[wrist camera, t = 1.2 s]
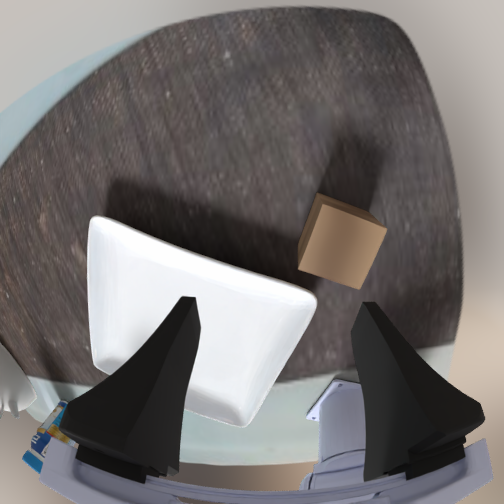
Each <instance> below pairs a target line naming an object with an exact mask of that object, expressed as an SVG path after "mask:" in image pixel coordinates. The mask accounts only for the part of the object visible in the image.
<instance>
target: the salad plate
mask: <svg viewBox="0 0 504 504" xmlns="http://www.w3.org/2000/svg"><path fill="white" fill-rule="evenodd" d="M87 281H88V310H89V327H90V339H91V349H92V357H93V362H94V365H95V366H96V367H97V368H98V369H100V370H101V371H103V372H105V373H107V374H109V375H111V374H113V373H114V372H115V371H116V370H117V369H118V368H120V367H121V366H122V365H123V364H124V363H125V362H126V361H127V360H128V359H130V358H131V357H132V356H133V355H134V354H135V353H136V352H137V351H138V350H139V348H140V347H141V346H142V345H143V344H144V343H145V342H146V341H147V340H148V338H149V337H150V336H151V335H152V334H153V333H154V332H155V330H156V329H157V328H158V327H159V325H160V324H161V323H162V322H163V320H164V319H165V318H166V316H167V315H168V314H169V312H170V311H171V310H172V308H173V307H174V306H175V304H176V303H177V301H178V300H179V299H180V297H182V296H189V297H196V301H197V307H198V313H199V318H200V324H201V333H200V341H199V347H198V351H197V355H196V359H195V363H194V366H193V370H192V374H191V378H190V381H189V385H188V389H187V393H186V398H185V405H184V409H185V410H188V411H190V412H193V413H196V414H199V415H201V416H204V417H207V418H210V419H213V420H216V421H219V422H223V423H226V424H229V425H233V426H237V427H246V426H248V425H249V424H250V422H251V421H252V420H253V418H254V417H255V415H256V414H257V412H258V410H259V408H260V407H261V405H262V403H263V402H264V400H265V398H266V396H267V394H268V393H269V391H270V389H271V387H272V385H273V384H274V382H275V380H276V379H277V377H278V375H279V374H280V372H281V370H282V369H283V367H284V365H285V364H286V362H287V360H288V359H289V357H290V355H291V354H292V352H293V350H294V349H295V347H296V345H297V344H298V342H299V340H300V338H301V337H302V335H303V333H304V332H305V330H306V328H307V326H308V325H309V323H310V321H311V319H312V317H313V314H314V312H315V310H316V307H317V298H316V296H315V295H314V294H313V293H312V292H311V291H309V290H307V289H305V288H302V287H300V286H297V285H294V284H292V283H289V282H286V281H282V280H279V279H276V278H273V277H269V276H266V275H262V274H259V273H256V272H252V271H249V270H246V269H243V268H239V267H236V266H233V265H230V264H227V263H224V262H221V261H218V260H215V259H212V258H209V257H207V256H204V255H201V254H198V253H195V252H192V251H189V250H187V249H184V248H181V247H178V246H176V245H173V244H170V243H168V242H165V241H163V240H160V239H158V238H155V237H153V236H150V235H148V234H146V233H143V232H141V231H139V230H137V229H134V228H132V227H130V226H128V225H125V224H123V223H121V222H119V221H116V220H114V219H111V218H108V217H105V216H100V215H96V216H93V217H92V218H91V220H90V224H89V232H88V252H87Z"/></svg>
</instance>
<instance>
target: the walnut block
mask: <svg viewBox="0 0 504 504" xmlns="http://www.w3.org/2000/svg"><path fill="white" fill-rule="evenodd" d="M386 231H387V228H386V227H385V226H384V225H382V224H381V223H380V222H379V221H378V220H377V219H376V218H375V217H374V216H372V215H371V214H370V213H369V212H367V211H365V210H362V209H360V208H357V207H355V206H352V205H350V204H347V203H344V202H342V201H339V200H336V199H334V198H331V197H328V196H326V195H323V194H320V193H316V196H315V199H314V201H313V204H312V207H311V210H310V213H309V216H308V218H307V221H306V224H305V227H304V229H303V232H302V235H301V237H300V240H299V243H298V269H299V270H302V271H305V272H308V273H311V274H314V275H317V276H320V277H323V278H326V279H329V280H332V281H335V282H338V283H341V284H344V285H347V286H350V287H353V288H356V289H359V290H360V288H361V286H362V284H363V282H364V280H365V278H366V275H367V273H368V271H369V269H370V267H371V265H372V263H373V261H374V259H375V256H376V254H377V252H378V250H379V247H380V245H381V243H382V241H383V238H384V236H385V234H386Z"/></svg>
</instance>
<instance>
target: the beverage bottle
mask: <svg viewBox="0 0 504 504" xmlns="http://www.w3.org/2000/svg"><path fill="white" fill-rule="evenodd" d="M67 404H68V402H66V401H60V402H59V403H58V405H57V407H56V408H55V409H54V410H53V412H52V413H51V414H50V415H49V417H48V418H47V419H46V420H45V422H44V423H43V424H42V425H41V426H40V427H39V428H38V430H37V434H36V435H35V436H33V437H32V441H31V451H30V450H28V451H26V453H25V454H24V456H23V458H22V459H23V461H25V462H26V463H27V464H28V465H29V466H30V467H31V468H32V469H34V470H35V471H36V472H38V473H39V474H40V473H41V469H42V466H43V462H44V459H45V455H46V452H47V449H48V446H49V442H50V439H51V437H54V438H56V439H58V440H60V441H62V442H64V443H66V444H68V445H70V446H74V444H75V441H73V440H72V439H70V438H69V437H67V436H66V435H64V434H63V433H61V432H60V431H59V429H58V427H59V424H60V421H61V419H62V416H63V413H64V410H65V408H66V406H67Z"/></svg>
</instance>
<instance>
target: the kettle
mask: <svg viewBox="0 0 504 504" xmlns="http://www.w3.org/2000/svg"><path fill="white" fill-rule="evenodd" d="M36 398H37V394H36V391H35V389H34V387H33V386H32V384H31V382H30V381H29V379H28V378H27V376H26V375H25V373H24V372H23V370H22V369H21V368H20V366H19V365H18V363H17V362H16V361H15V360H14V358H13V357H12V356H11V354H10V353H9V352H8V351H7V350H6V348H5V347H4V346H3V345H2V344H1V343H0V409H1V411H0V419H1V417H2V414H3V410H6V411H11V413H12V416H13V417H15V418H17V419H19V418H20V417H19V411H21V410H23V409H25V408H27V407H28V406H29V405H30V404H31V403H32V402H33V401H34V400H35V399H36Z"/></svg>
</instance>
